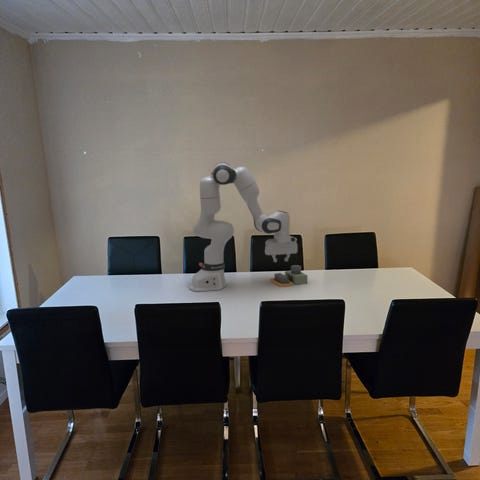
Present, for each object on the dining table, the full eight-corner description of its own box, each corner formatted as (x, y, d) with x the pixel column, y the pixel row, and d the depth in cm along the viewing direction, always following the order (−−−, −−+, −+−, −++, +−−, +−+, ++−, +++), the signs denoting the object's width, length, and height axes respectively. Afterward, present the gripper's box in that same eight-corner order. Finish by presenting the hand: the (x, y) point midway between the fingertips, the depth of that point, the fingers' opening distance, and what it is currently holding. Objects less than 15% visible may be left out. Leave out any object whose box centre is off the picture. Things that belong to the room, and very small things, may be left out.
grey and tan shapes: (281, 287, 221) (281, 272, 219) (270, 280, 234) (270, 266, 232) (307, 283, 228) (308, 268, 226) (295, 277, 240) (296, 263, 239)
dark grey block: (282, 286, 224) (282, 278, 223) (274, 281, 233) (274, 273, 232) (288, 285, 225) (288, 277, 224) (280, 280, 234) (280, 272, 233)
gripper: (268, 240, 217) (267, 263, 219) (299, 238, 225) (298, 261, 227) (263, 238, 223) (262, 261, 225) (293, 236, 231) (292, 259, 233)
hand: (280, 261), depth 226 cm, fingers open, 6 cm apart
